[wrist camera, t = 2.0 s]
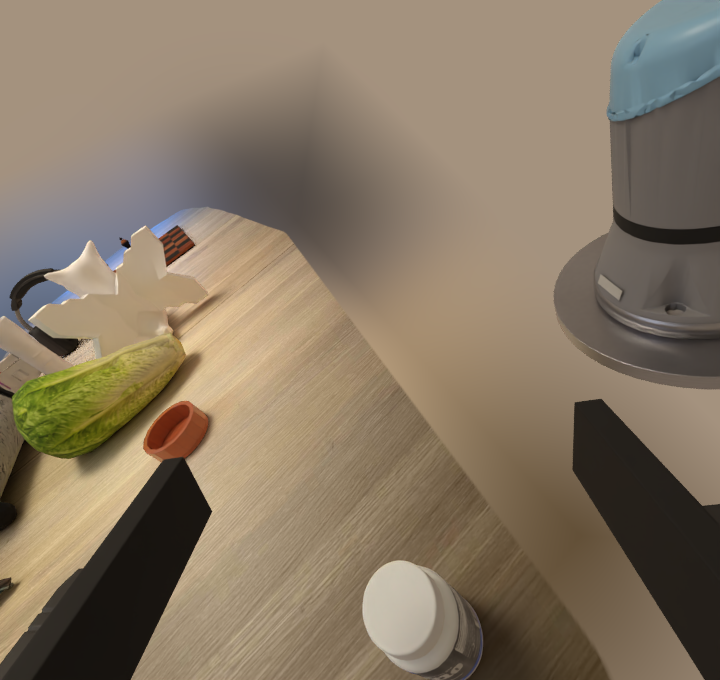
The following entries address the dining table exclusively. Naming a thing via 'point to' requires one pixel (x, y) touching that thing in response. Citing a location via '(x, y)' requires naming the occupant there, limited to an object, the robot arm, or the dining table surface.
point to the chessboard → (171, 244)
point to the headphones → (53, 344)
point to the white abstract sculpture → (118, 297)
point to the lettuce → (94, 397)
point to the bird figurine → (5, 584)
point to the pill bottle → (422, 622)
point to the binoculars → (24, 357)
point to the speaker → (7, 452)
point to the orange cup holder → (176, 432)
